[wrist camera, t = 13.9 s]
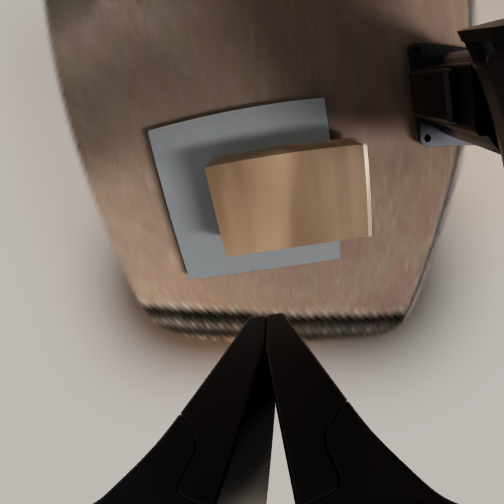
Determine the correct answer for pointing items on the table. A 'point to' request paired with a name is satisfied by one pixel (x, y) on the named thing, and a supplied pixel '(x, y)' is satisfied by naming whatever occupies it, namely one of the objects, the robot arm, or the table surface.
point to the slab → (291, 195)
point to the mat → (197, 188)
